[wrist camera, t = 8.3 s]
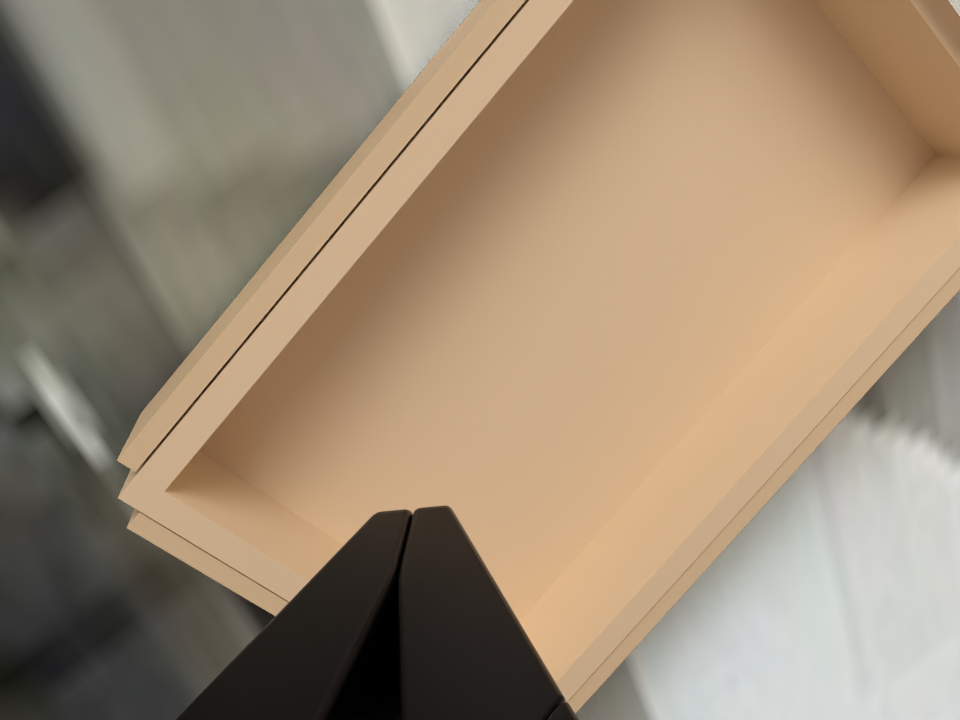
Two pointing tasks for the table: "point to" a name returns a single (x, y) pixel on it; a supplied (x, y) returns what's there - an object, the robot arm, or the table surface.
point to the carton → (576, 305)
